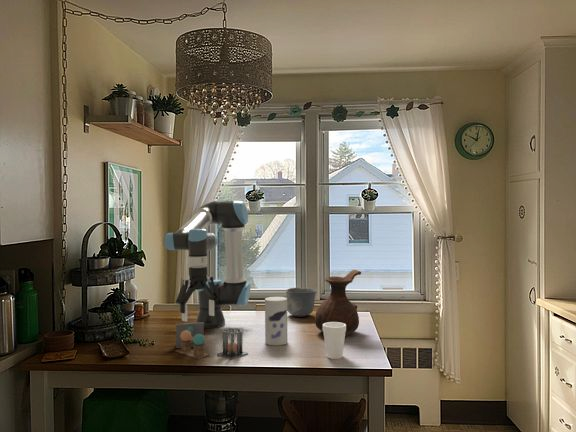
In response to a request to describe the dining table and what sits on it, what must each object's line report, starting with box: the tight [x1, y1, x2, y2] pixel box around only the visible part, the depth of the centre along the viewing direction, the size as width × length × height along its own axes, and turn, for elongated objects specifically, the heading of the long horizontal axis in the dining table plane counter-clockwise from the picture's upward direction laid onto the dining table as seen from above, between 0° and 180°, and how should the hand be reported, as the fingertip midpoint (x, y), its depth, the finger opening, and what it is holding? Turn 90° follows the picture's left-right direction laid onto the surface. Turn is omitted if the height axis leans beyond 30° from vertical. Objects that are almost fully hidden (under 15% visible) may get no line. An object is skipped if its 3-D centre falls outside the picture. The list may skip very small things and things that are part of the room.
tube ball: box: [227, 341, 237, 353], centre depth 198 cm, size 5×5×5 cm
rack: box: [175, 340, 211, 360], centre depth 200 cm, size 16×6×5 cm, turn 47°
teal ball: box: [193, 334, 205, 345], centre depth 197 cm, size 5×5×5 cm
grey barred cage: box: [216, 327, 249, 360], centre depth 198 cm, size 9×9×10 cm
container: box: [264, 296, 288, 346], centre depth 215 cm, size 10×10×20 cm
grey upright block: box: [175, 322, 205, 349], centre depth 212 cm, size 5×12×10 cm, turn 102°
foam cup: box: [322, 322, 346, 360], centre depth 195 cm, size 10×9×13 cm
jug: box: [314, 269, 362, 337], centre depth 231 cm, size 22×22×30 cm
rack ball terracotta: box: [180, 330, 191, 341], centre depth 203 cm, size 5×5×5 cm
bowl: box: [285, 287, 317, 318], centre depth 268 cm, size 18×18×15 cm
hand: (198, 318), depth 197 cm, fingers open, 13 cm apart
